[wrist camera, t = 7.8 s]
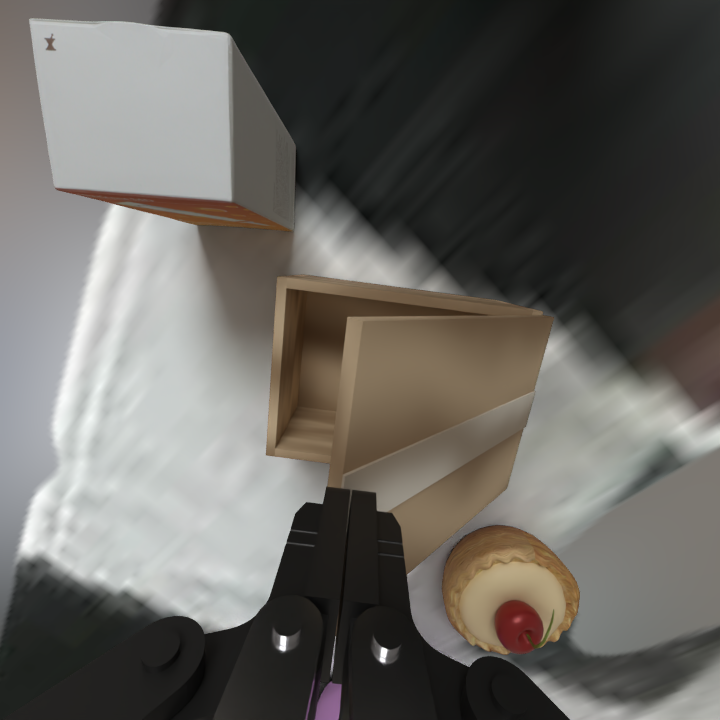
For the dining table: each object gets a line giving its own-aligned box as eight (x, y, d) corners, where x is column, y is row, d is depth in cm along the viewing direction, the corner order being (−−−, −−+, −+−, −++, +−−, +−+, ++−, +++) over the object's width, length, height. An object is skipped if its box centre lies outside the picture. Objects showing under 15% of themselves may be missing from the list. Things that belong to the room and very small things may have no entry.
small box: (196, 226, 27) (47, 190, 15) (191, 136, 26) (20, 10, 13) (296, 234, 27) (233, 203, 15) (298, 144, 26) (229, 24, 13)
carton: (302, 274, 28) (277, 276, 20) (495, 299, 28) (543, 311, 20) (291, 413, 31) (265, 460, 24) (464, 435, 31) (495, 490, 24)
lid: (347, 316, 9) (365, 321, 9) (543, 315, 20) (556, 317, 20) (309, 635, 12) (321, 651, 12) (498, 483, 23) (508, 489, 23)
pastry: (418, 582, 37) (428, 679, 28) (469, 496, 33) (498, 575, 25) (519, 621, 37) (560, 729, 28) (579, 540, 34) (646, 633, 25)
